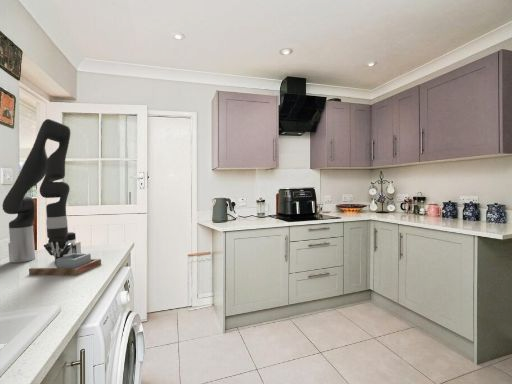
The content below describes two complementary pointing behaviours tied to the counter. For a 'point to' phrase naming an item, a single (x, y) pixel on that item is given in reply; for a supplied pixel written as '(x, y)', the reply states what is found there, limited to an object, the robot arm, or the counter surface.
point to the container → (76, 245)
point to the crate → (73, 260)
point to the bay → (65, 269)
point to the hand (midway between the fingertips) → (59, 264)
